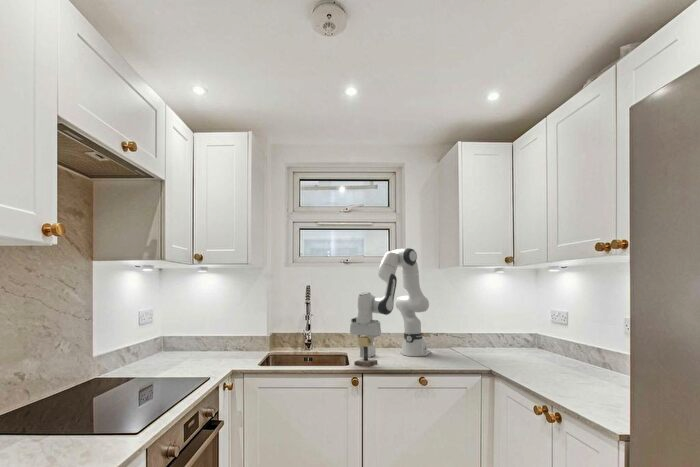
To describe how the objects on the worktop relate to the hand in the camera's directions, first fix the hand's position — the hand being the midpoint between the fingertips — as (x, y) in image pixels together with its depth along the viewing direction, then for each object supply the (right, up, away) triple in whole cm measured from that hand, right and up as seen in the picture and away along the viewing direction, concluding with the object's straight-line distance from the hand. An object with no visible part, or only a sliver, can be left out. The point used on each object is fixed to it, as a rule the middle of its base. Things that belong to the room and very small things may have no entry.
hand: (365, 342), depth 246 cm
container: (+2, -15, +23) cm, 28 cm away
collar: (0, -2, 0) cm, 2 cm away
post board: (0, -13, -1) cm, 13 cm away
